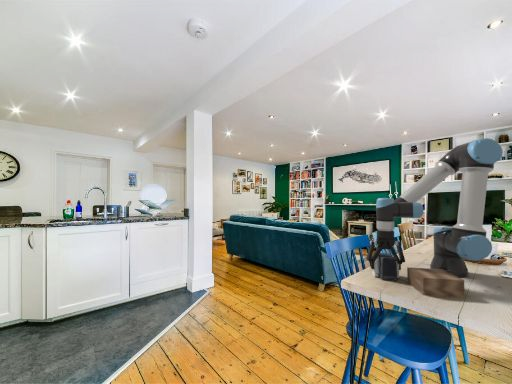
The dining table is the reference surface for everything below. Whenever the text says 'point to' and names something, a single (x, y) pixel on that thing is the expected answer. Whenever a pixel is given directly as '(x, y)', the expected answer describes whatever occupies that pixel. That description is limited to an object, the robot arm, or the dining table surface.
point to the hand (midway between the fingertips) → (385, 276)
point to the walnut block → (435, 282)
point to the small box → (386, 266)
